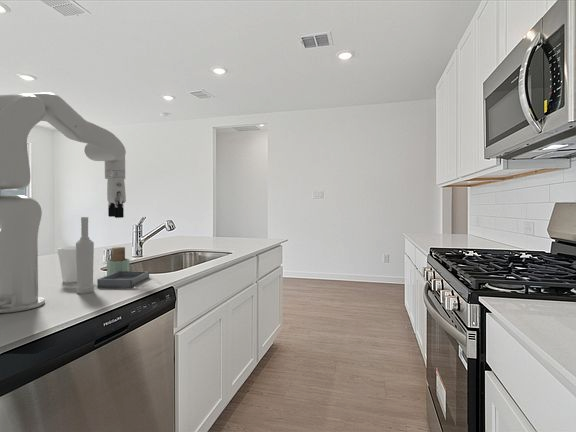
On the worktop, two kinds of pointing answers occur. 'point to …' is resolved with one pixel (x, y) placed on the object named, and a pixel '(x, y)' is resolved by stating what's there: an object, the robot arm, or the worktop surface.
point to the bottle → (84, 260)
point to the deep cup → (117, 266)
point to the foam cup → (68, 263)
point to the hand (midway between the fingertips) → (115, 217)
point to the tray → (122, 279)
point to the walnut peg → (118, 254)
